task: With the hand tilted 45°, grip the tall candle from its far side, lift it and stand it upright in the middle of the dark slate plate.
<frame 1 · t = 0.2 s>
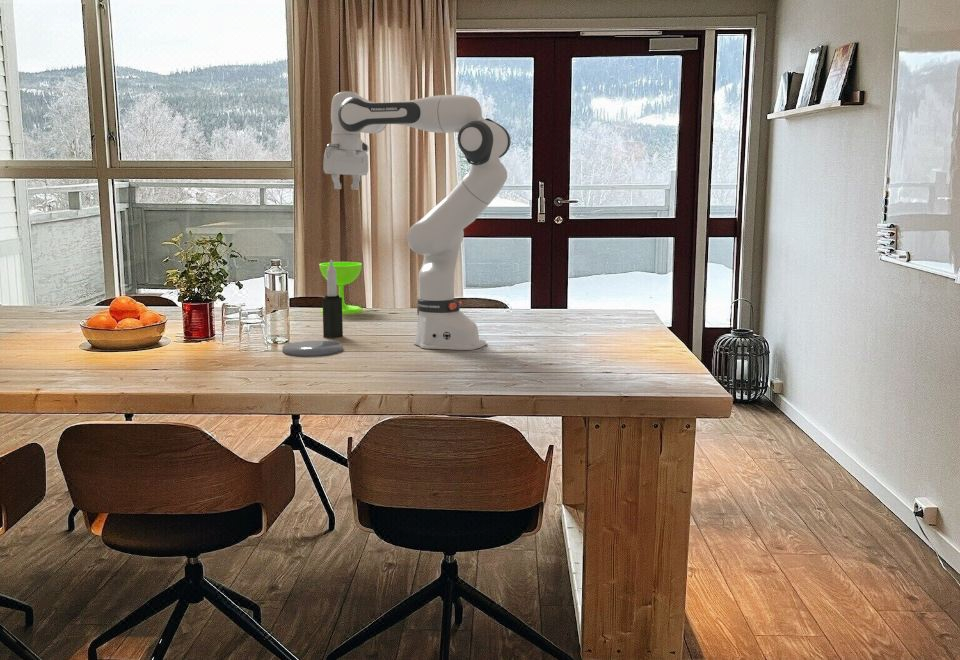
hand: (346, 189, 293), 47 cm above the table, tool pointing down, fingers open, 8 cm apart
wineglass: (341, 311, 353), on the table
slate plate: (312, 350, 279), on the table
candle: (333, 337, 301), on the table
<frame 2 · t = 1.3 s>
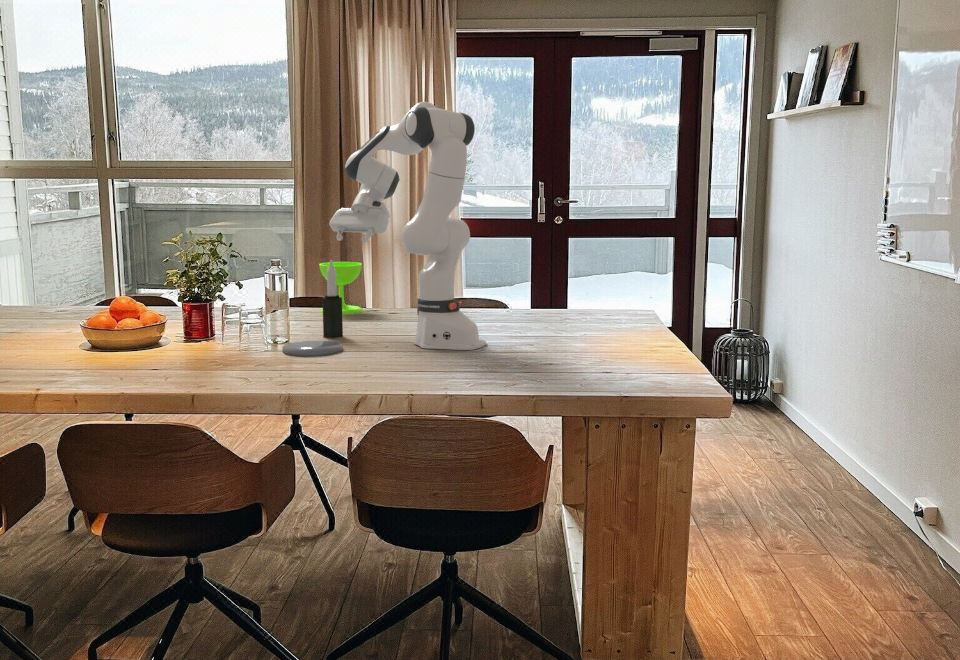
hand: (351, 240, 308), 30 cm above the table, tool tilted 45°, fingers open, 8 cm apart
nothing on the table moved.
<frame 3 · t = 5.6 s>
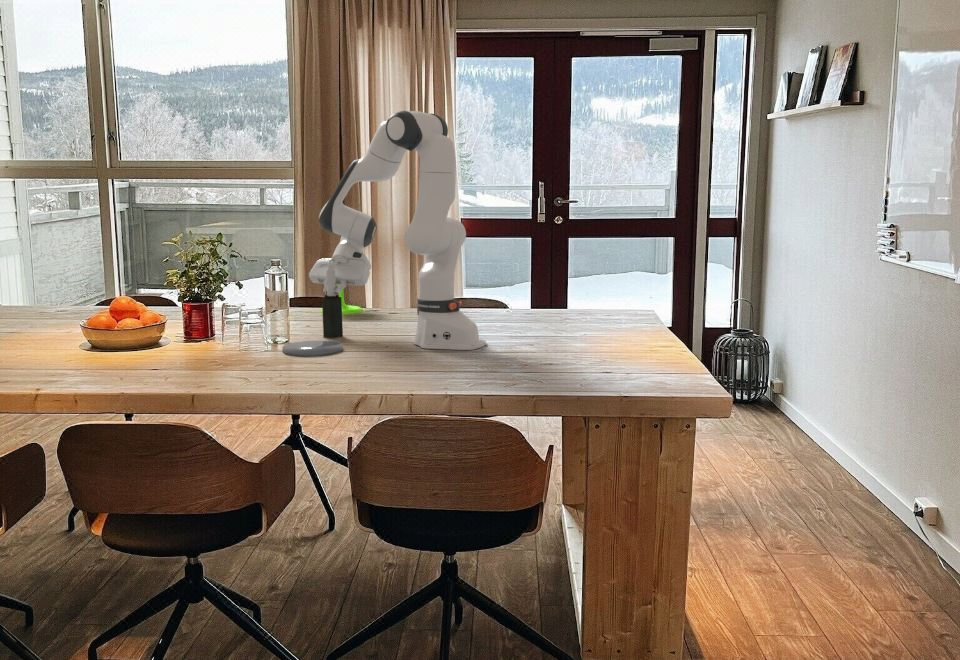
hand: (331, 292, 298), 14 cm above the table, tool tilted 45°, fingers closed on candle, 2 cm apart
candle: (333, 337, 301), on the table, touching gripper
everything else where it was.
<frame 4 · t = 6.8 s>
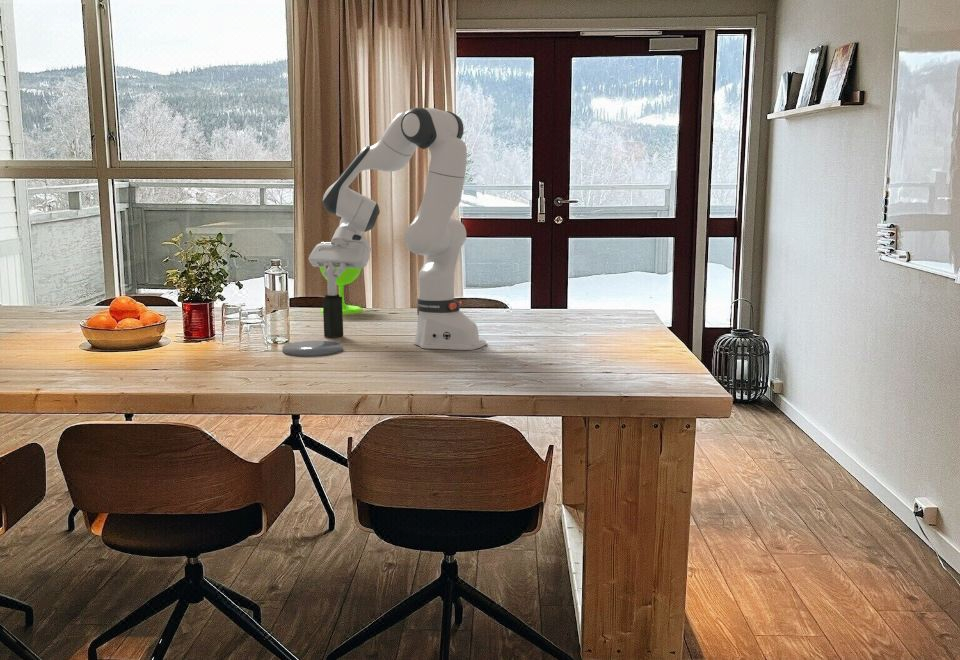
hand: (331, 275, 297), 20 cm above the table, tool tilted 45°, fingers closed on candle, 2 cm apart
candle: (333, 336, 301), on the table, touching gripper
everything else where it was.
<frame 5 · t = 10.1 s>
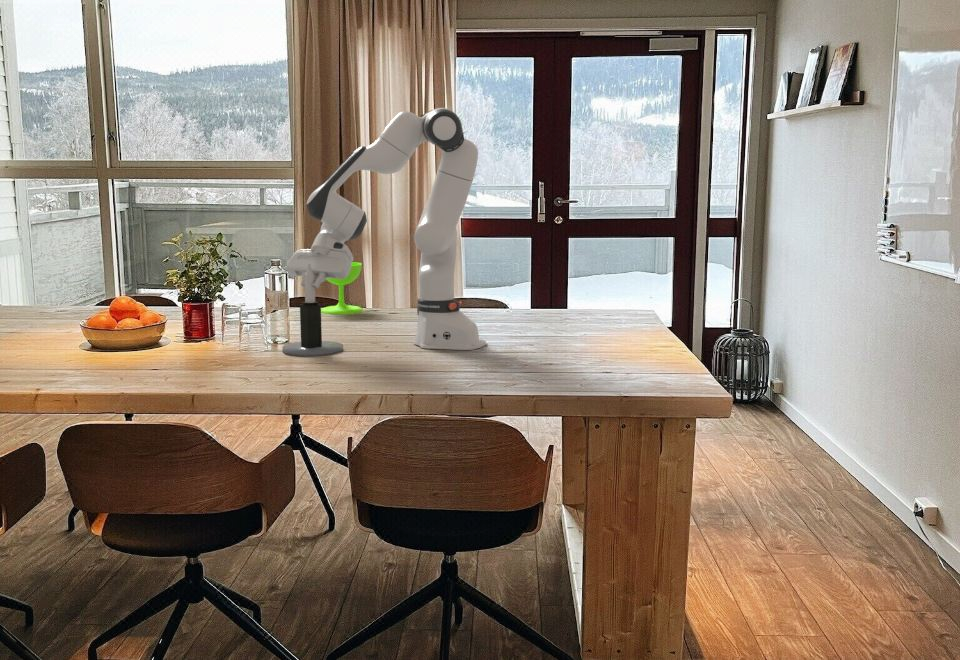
hand: (309, 286, 275), 19 cm above the table, tool tilted 45°, fingers closed on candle, 2 cm apart
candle: (311, 346, 279), point 1 cm above the table, touching gripper, slate plate
everything else where it was.
when the fingers open (17 cm above the table, at t = 10.8 s): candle stays where it is, resting on slate plate.
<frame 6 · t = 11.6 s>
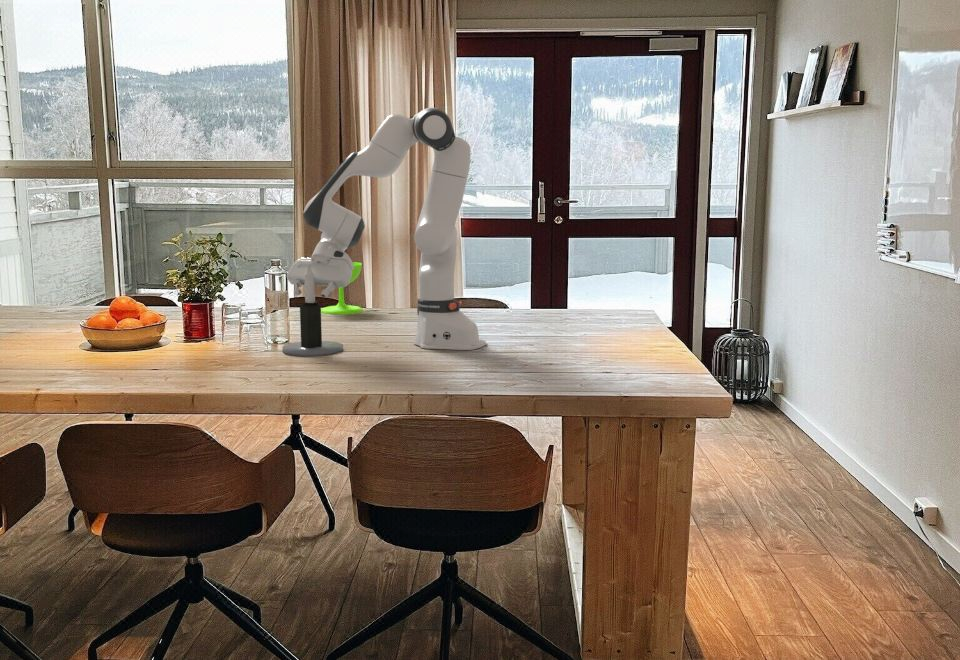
hand: (310, 295, 275), 17 cm above the table, tool tilted 45°, fingers open, 8 cm apart
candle: (311, 346, 279), point 1 cm above the table, touching slate plate
everything else where it was.
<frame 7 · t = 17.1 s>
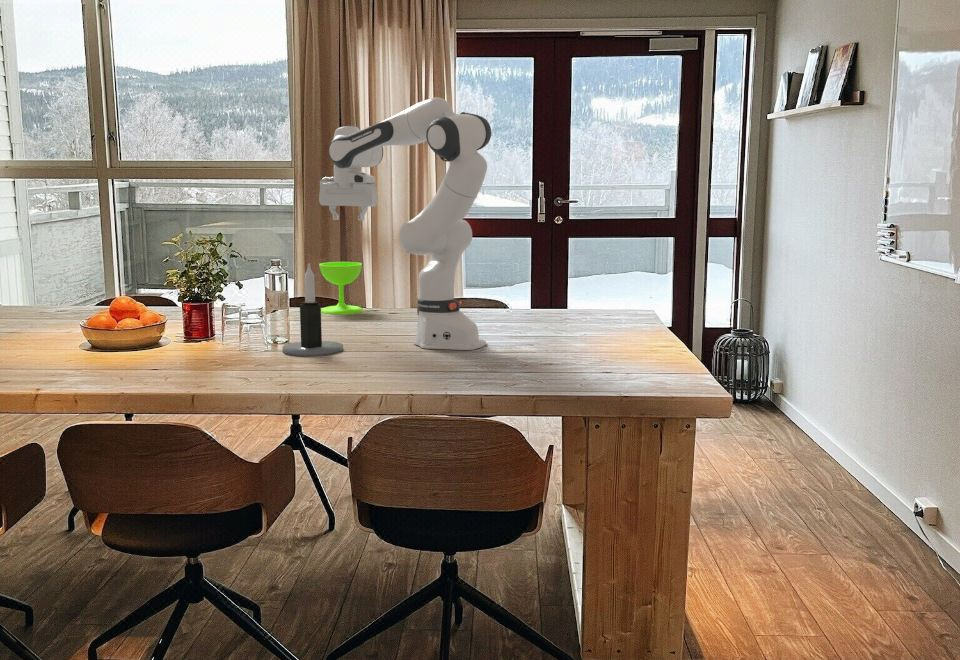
hand: (348, 220, 303), 37 cm above the table, tool pointing down, fingers open, 8 cm apart
nothing on the table moved.
at the end: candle inside the target area on the slate plate (0.5 cm from its centre), point 1.0 cm above the slate plate's base; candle tilted 0°; the gripper is holding nothing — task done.
